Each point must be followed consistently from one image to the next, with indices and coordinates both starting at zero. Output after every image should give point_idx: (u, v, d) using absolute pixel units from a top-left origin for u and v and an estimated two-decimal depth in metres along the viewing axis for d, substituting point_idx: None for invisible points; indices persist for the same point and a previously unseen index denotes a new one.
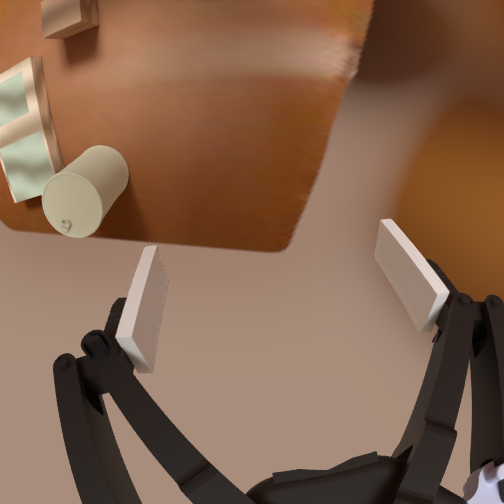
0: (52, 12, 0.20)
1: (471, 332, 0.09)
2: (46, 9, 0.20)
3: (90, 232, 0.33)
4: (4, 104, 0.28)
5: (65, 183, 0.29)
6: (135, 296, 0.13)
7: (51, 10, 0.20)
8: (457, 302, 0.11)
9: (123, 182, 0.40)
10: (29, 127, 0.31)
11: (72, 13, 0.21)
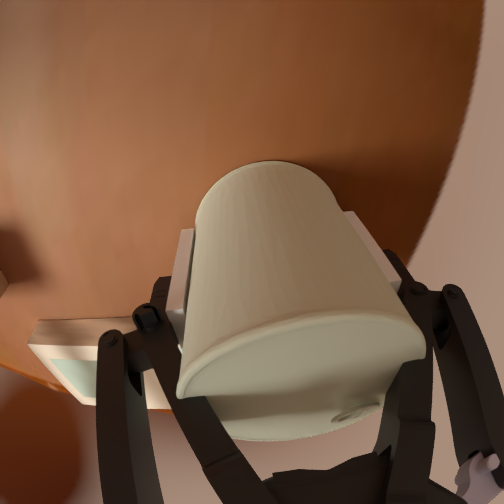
0: None
1: (430, 320, 0.10)
2: None
3: (420, 354, 0.09)
4: None
5: (220, 404, 0.09)
6: (180, 273, 0.14)
7: None
8: (410, 292, 0.12)
9: (299, 179, 0.15)
10: None
11: None
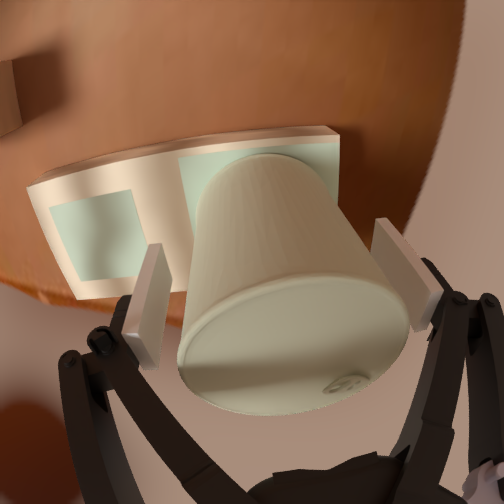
0: None
1: (466, 330, 0.09)
2: None
3: (404, 324, 0.10)
4: (109, 256, 0.21)
5: (217, 370, 0.10)
6: (140, 293, 0.13)
7: None
8: (451, 300, 0.11)
9: (292, 169, 0.16)
10: (166, 191, 0.18)
11: None
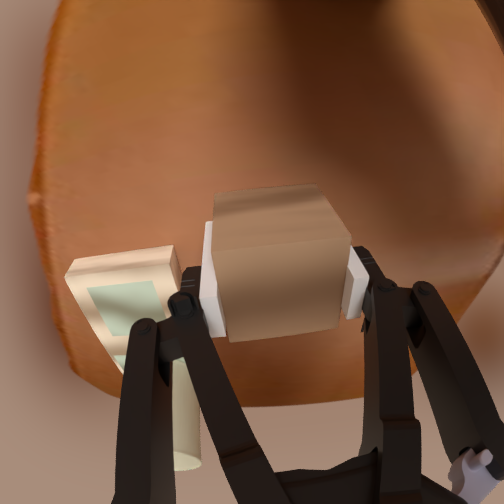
0: (259, 295, 0.14)
1: (401, 316, 0.11)
2: (236, 281, 0.13)
3: (183, 470, 0.27)
4: (117, 313, 0.27)
5: None
6: (210, 262, 0.14)
7: (254, 289, 0.14)
8: (378, 289, 0.12)
9: None
10: None
11: (320, 310, 0.15)
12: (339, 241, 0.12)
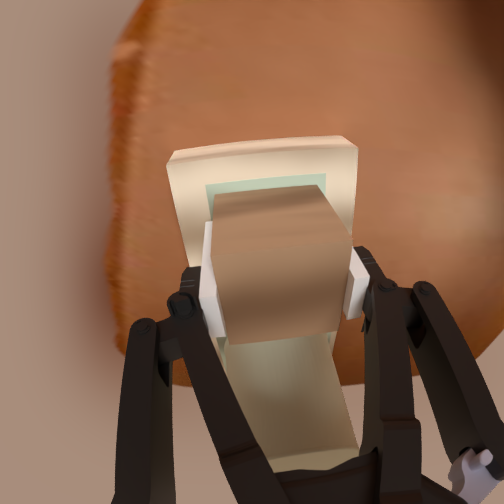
0: (259, 298, 0.14)
1: (402, 316, 0.11)
2: (236, 284, 0.13)
3: None
4: None
5: (305, 457, 0.15)
6: (210, 262, 0.14)
7: (254, 292, 0.13)
8: (378, 289, 0.12)
9: None
10: None
11: (320, 313, 0.15)
12: (340, 245, 0.12)
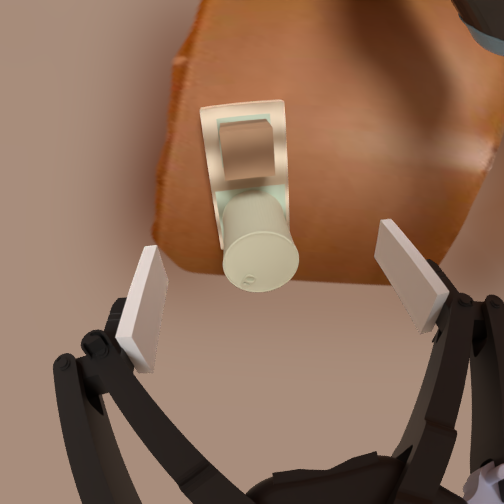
0: (237, 152, 0.33)
1: (471, 332, 0.09)
2: (228, 145, 0.32)
3: (275, 287, 0.38)
4: None
5: (263, 242, 0.34)
6: (135, 296, 0.13)
7: (235, 149, 0.33)
8: (457, 302, 0.11)
9: None
10: (269, 178, 0.41)
11: (264, 163, 0.34)
12: (267, 129, 0.32)
